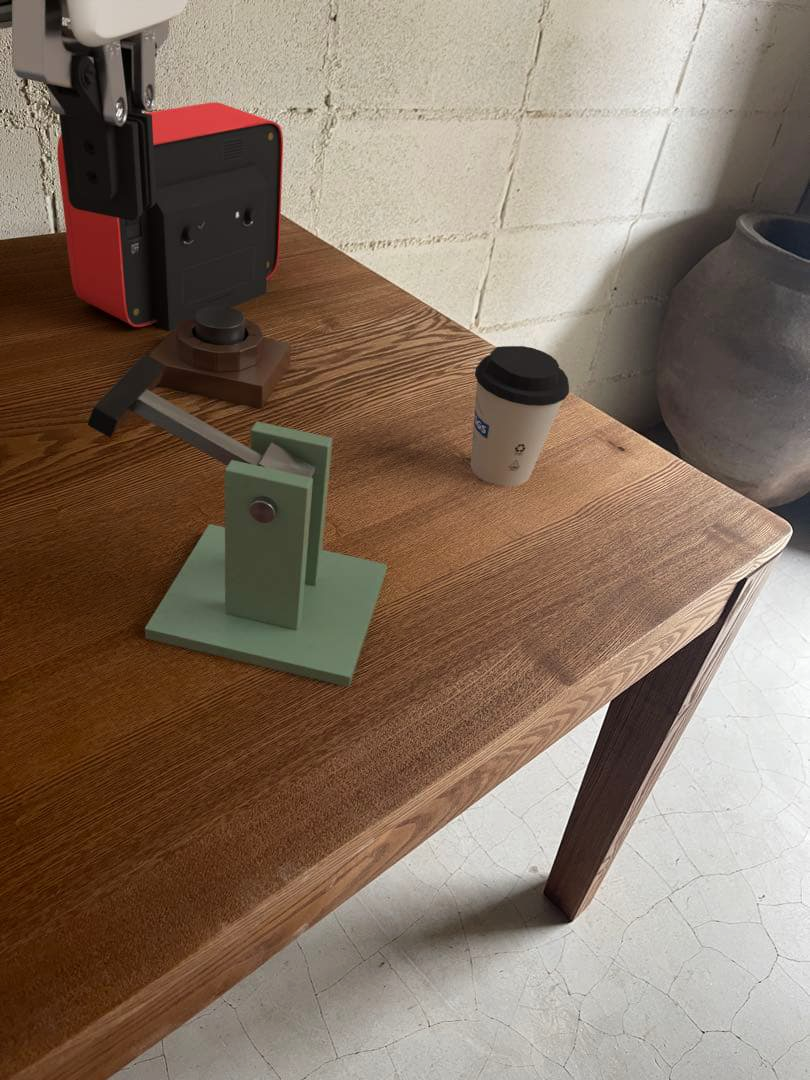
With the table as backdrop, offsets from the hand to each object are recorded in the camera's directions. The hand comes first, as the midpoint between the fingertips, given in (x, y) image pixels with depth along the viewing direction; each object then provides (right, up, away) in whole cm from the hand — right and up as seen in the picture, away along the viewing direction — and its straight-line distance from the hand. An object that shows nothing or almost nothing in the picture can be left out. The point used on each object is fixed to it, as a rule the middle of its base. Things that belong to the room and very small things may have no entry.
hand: (113, 206), depth 39 cm
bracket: (+5, -19, +14) cm, 25 cm away
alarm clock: (-8, +9, +46) cm, 47 cm away
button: (-2, +2, +33) cm, 33 cm away
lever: (+2, -11, +8) cm, 13 cm away
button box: (-3, -1, +35) cm, 35 cm away
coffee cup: (+20, -10, +29) cm, 37 cm away
